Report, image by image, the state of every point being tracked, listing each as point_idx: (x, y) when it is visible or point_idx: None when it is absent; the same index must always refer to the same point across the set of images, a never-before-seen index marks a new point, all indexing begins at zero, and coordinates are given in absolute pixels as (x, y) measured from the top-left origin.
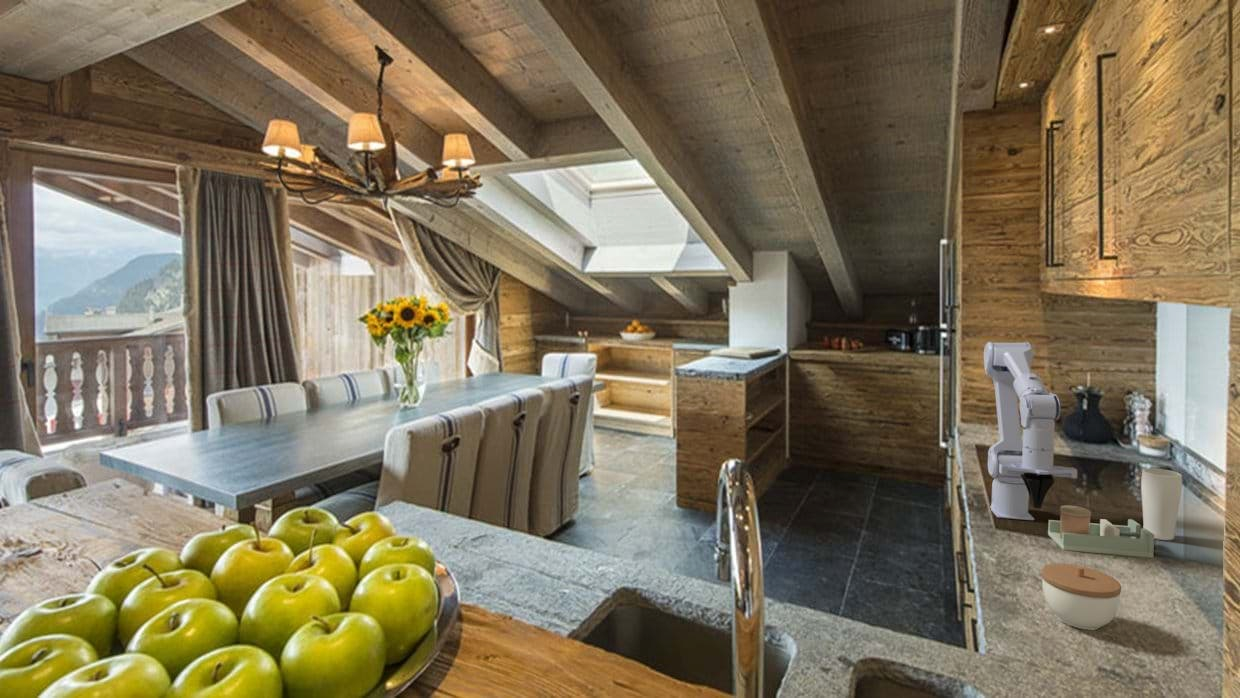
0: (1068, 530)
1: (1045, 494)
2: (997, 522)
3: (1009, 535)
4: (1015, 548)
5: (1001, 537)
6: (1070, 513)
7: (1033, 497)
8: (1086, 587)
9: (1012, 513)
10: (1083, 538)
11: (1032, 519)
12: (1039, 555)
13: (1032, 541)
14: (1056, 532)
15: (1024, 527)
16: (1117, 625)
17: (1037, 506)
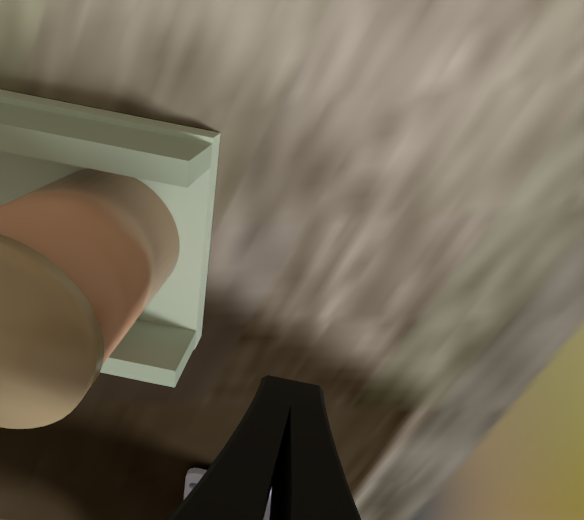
0: (130, 223)
1: (197, 492)
2: (363, 457)
3: (406, 321)
4: (505, 137)
5: (471, 296)
6: (45, 276)
7: (342, 474)
8: None
9: (269, 509)
10: (76, 131)
11: (195, 470)
12: (423, 22)
13: (330, 248)
14: (166, 321)
15: None
16: None
17: (295, 389)
